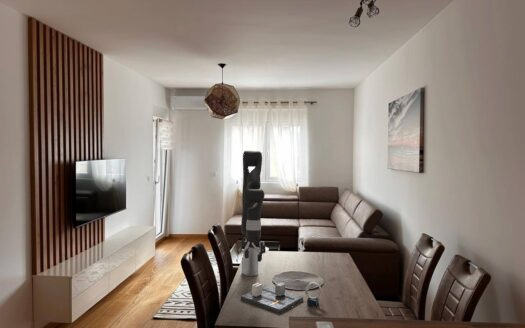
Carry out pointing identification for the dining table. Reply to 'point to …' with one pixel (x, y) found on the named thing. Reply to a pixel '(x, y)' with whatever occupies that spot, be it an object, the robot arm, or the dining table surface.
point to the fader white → (257, 289)
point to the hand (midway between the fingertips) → (253, 259)
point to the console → (273, 299)
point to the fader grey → (280, 289)
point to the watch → (312, 300)
